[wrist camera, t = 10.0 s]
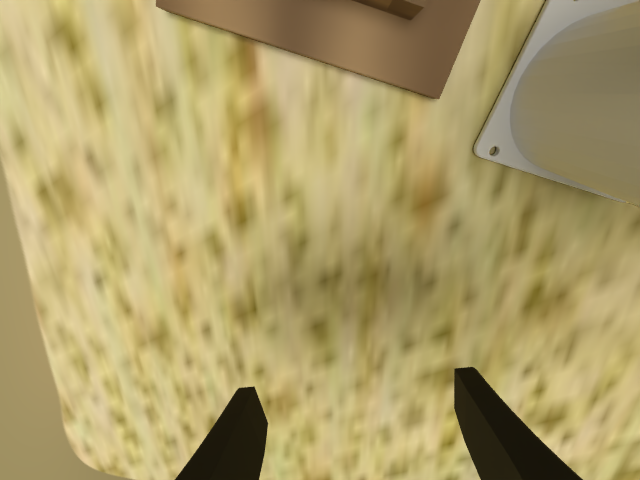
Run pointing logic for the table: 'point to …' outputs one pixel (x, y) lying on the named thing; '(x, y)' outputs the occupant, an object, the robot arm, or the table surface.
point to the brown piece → (351, 33)
